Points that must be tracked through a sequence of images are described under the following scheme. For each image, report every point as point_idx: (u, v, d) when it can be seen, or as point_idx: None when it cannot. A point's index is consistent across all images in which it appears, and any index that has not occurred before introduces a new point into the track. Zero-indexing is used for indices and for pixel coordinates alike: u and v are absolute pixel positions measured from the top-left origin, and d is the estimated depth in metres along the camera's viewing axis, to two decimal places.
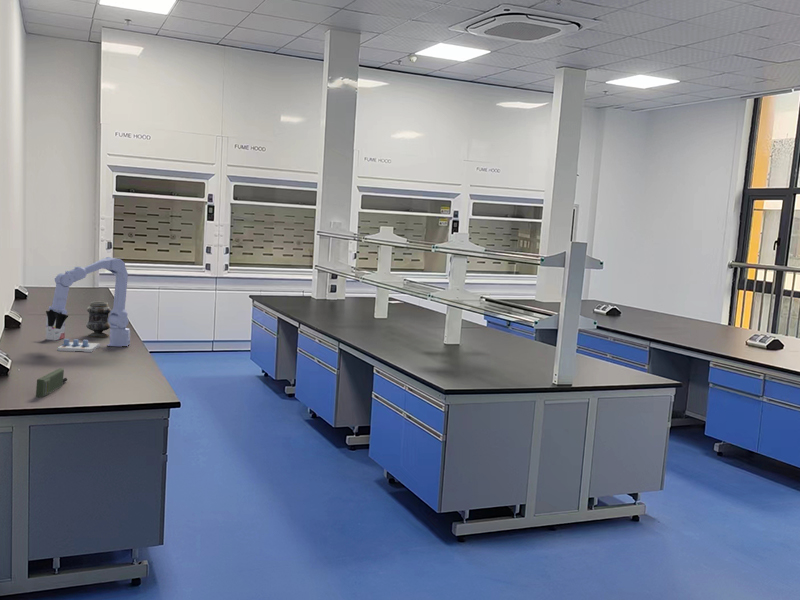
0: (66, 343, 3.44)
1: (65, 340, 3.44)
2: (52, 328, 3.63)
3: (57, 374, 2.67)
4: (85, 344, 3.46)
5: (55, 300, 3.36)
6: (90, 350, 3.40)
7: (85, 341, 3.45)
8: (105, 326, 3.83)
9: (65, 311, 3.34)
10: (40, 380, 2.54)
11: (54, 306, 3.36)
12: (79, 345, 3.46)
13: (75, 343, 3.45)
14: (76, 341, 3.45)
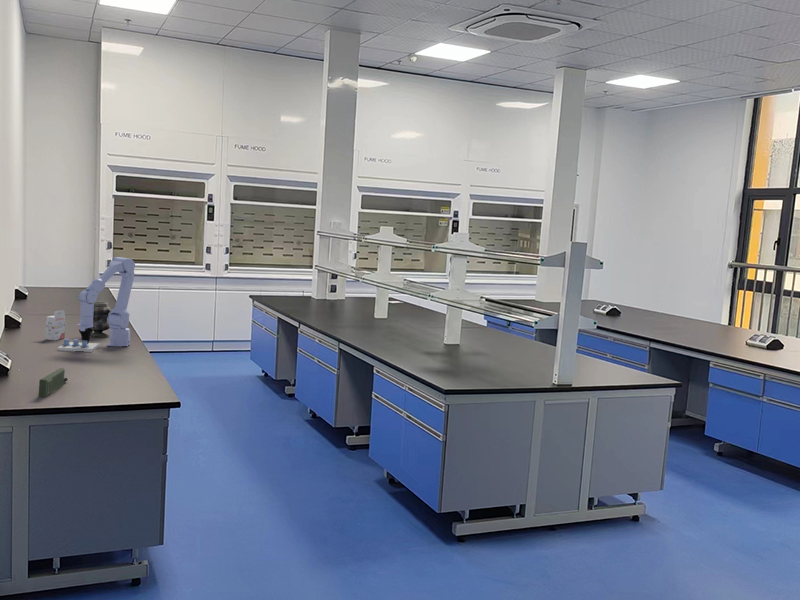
0: (66, 343, 3.44)
1: (65, 340, 3.44)
2: (52, 328, 3.63)
3: (58, 374, 2.67)
4: (84, 345, 3.44)
5: (80, 317, 3.44)
6: (90, 350, 3.40)
7: (84, 341, 3.44)
8: (105, 326, 3.83)
9: (82, 328, 3.39)
10: (43, 380, 2.54)
11: (80, 323, 3.45)
12: (79, 345, 3.46)
13: (75, 343, 3.45)
14: (76, 341, 3.45)
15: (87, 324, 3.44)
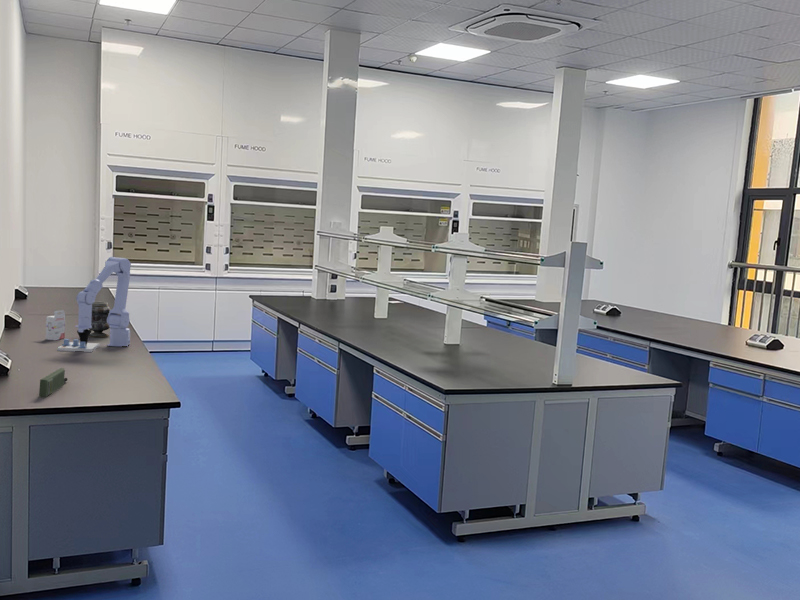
0: (66, 343, 3.44)
1: (65, 340, 3.44)
2: (52, 328, 3.63)
3: (59, 374, 2.67)
4: (82, 346, 3.41)
5: (78, 318, 3.41)
6: (90, 350, 3.40)
7: (82, 343, 3.41)
8: (105, 326, 3.83)
9: (80, 329, 3.36)
10: (43, 380, 2.54)
11: (78, 324, 3.41)
12: (79, 345, 3.46)
13: (75, 343, 3.45)
14: (76, 341, 3.45)
15: (85, 325, 3.40)
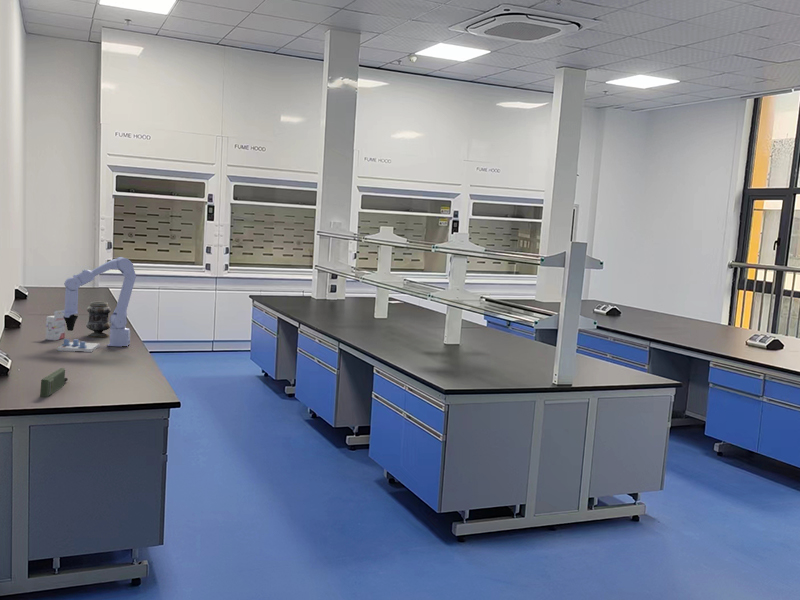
0: (66, 343, 3.44)
1: (65, 340, 3.44)
2: (52, 328, 3.63)
3: (59, 374, 2.67)
4: (82, 346, 3.41)
5: (65, 304, 3.48)
6: (90, 350, 3.40)
7: (82, 343, 3.41)
8: (105, 326, 3.83)
9: (67, 314, 3.43)
10: (44, 380, 2.54)
11: None
12: (79, 345, 3.46)
13: (75, 343, 3.45)
14: (76, 341, 3.45)
15: (71, 311, 3.47)
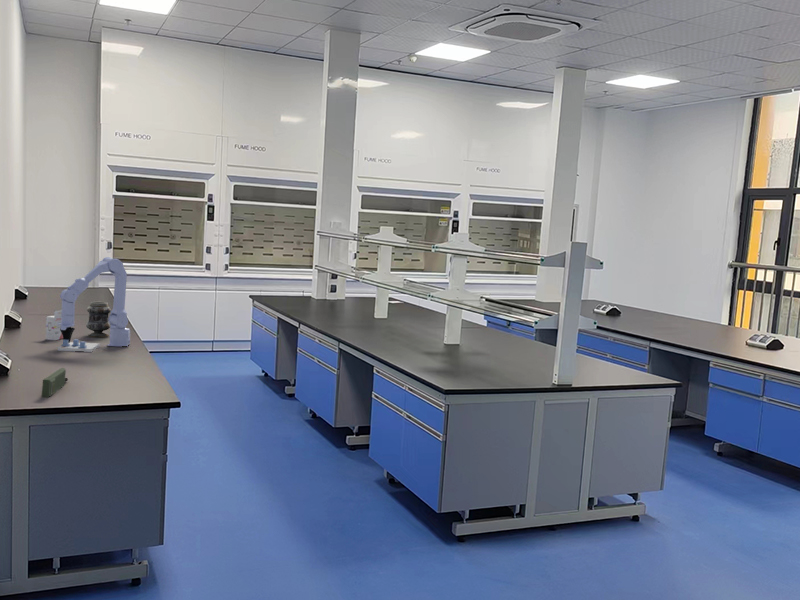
0: (65, 343, 3.43)
1: (64, 340, 3.43)
2: (52, 328, 3.63)
3: (60, 374, 2.67)
4: (82, 346, 3.41)
5: (61, 316, 3.43)
6: (90, 350, 3.40)
7: (82, 343, 3.41)
8: (105, 326, 3.83)
9: (63, 327, 3.38)
10: (46, 380, 2.54)
11: (61, 322, 3.43)
12: (79, 345, 3.46)
13: (75, 343, 3.45)
14: (76, 341, 3.45)
15: (68, 323, 3.43)
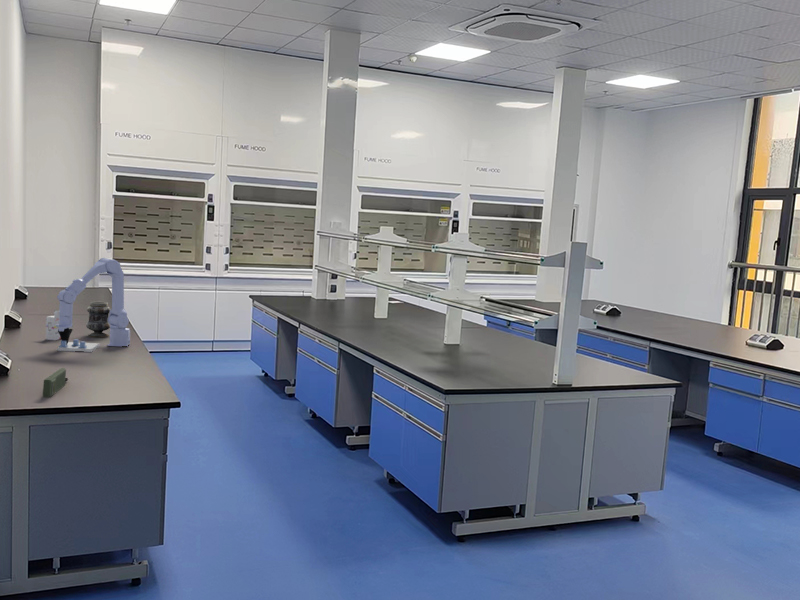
0: (63, 345, 3.39)
1: (62, 342, 3.39)
2: (52, 328, 3.63)
3: (61, 374, 2.67)
4: (82, 346, 3.41)
5: (59, 317, 3.39)
6: (90, 350, 3.40)
7: (82, 343, 3.41)
8: (105, 326, 3.83)
9: (61, 328, 3.34)
10: (47, 380, 2.54)
11: (59, 323, 3.40)
12: (79, 345, 3.46)
13: (75, 343, 3.45)
14: (76, 341, 3.45)
15: (66, 324, 3.39)
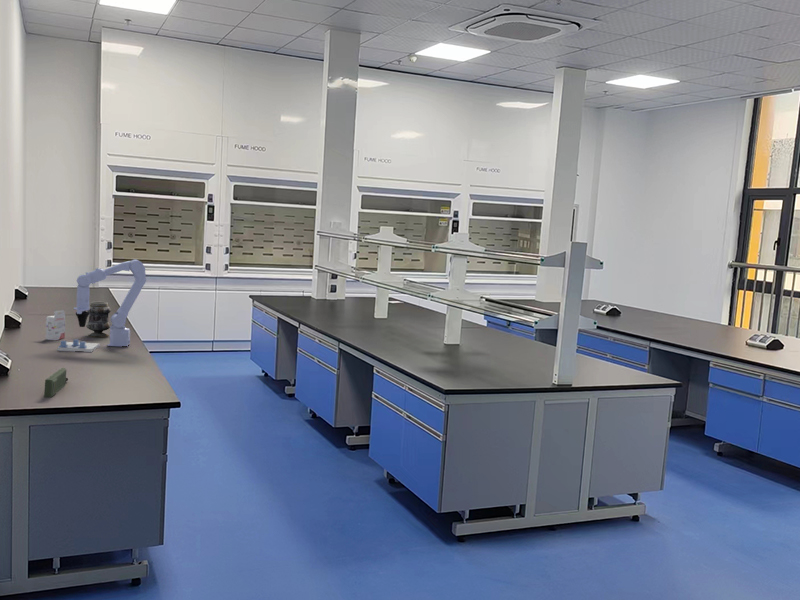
0: (63, 345, 3.39)
1: (62, 342, 3.39)
2: (52, 328, 3.63)
3: (61, 374, 2.67)
4: (82, 346, 3.41)
5: None
6: (90, 350, 3.40)
7: (82, 343, 3.41)
8: (105, 326, 3.83)
9: (79, 311, 3.47)
10: (48, 380, 2.54)
11: None
12: (79, 345, 3.46)
13: (75, 343, 3.45)
14: (76, 341, 3.45)
15: (83, 307, 3.52)
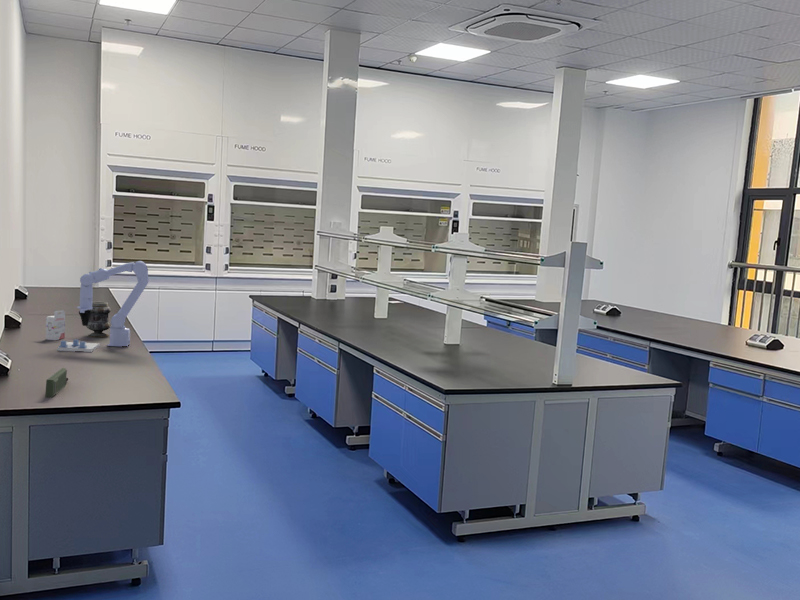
0: (63, 345, 3.39)
1: (62, 342, 3.39)
2: (52, 328, 3.63)
3: (62, 374, 2.67)
4: (82, 346, 3.41)
5: (80, 300, 3.55)
6: (90, 350, 3.40)
7: (82, 343, 3.41)
8: (105, 326, 3.83)
9: (82, 310, 3.50)
10: (50, 380, 2.54)
11: None
12: (79, 345, 3.46)
13: (75, 343, 3.45)
14: (76, 341, 3.45)
15: (86, 306, 3.55)
